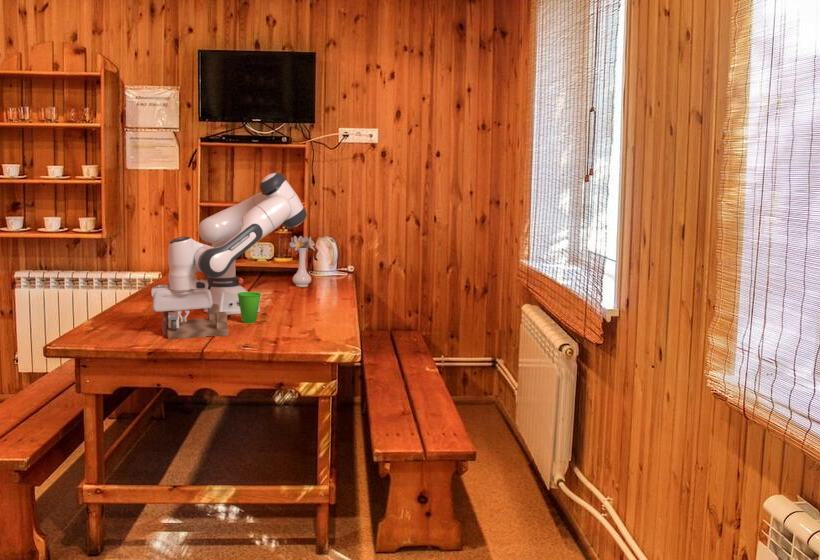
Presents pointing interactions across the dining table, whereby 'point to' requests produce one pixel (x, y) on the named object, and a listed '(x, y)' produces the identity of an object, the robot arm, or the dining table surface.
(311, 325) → the dining table surface
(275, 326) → the dining table surface
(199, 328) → the stool board
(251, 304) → the cup
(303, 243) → the flower vase
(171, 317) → the hinged leg
